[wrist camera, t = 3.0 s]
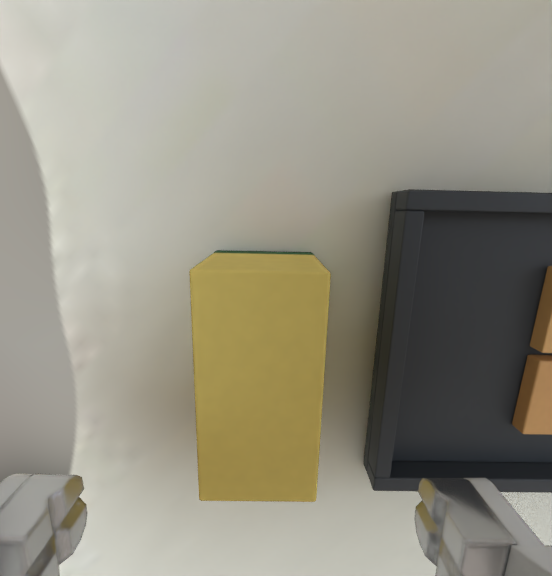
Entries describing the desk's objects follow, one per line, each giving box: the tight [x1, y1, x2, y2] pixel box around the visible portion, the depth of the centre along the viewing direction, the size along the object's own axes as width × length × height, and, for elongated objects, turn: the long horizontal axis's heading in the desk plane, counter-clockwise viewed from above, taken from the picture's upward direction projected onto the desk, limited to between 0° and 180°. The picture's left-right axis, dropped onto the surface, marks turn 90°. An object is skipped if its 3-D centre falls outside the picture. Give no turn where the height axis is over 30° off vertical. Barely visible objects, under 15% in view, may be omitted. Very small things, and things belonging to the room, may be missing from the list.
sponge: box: [190, 250, 331, 502], centre depth 13 cm, size 9×4×5 cm, turn 179°
